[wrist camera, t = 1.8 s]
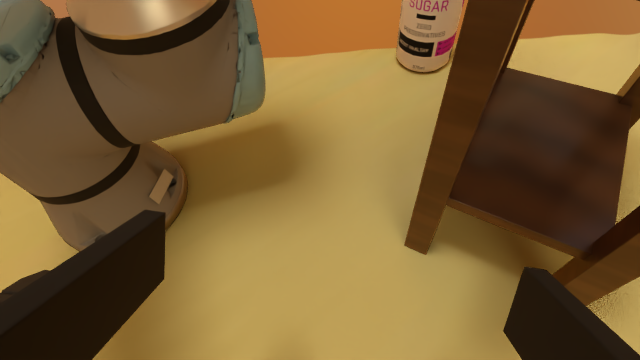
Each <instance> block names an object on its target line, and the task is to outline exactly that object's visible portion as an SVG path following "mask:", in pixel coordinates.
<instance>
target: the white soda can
mask: <svg viewBox="0 0 640 360" xmlns="http://www.w3.org/2000/svg"><path fill="white" fill-rule="evenodd" d="M463 4H464V0H402V6H401V14H400V23H399V33H398V41H397V51H396V56H397V59H398V61H399V62H400V63H401V64H403V65H404V66H405V67H406V68H408V69H410V70H412V71H417V72H430V71H434V70H437V69H438V68H440V67H442V66H444V65H445V64H446V63H447V62H448V60H449V59H450V55H451V51H452V47H453V43H454V39H455V35H456V32H457V28H458V23H459V20H460V15H461V12H462V7H463Z"/></svg>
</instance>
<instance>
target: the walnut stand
mask: <svg viewBox="0 0 640 360" xmlns="http://www.w3.org/2000/svg"><path fill="white" fill-rule="evenodd" d="M534 1H535V0H468V3H467V7H466V11H465V15H464V19H463V23H462V27H461V30H460V34H459V38H458V42H457V46H456V49H455V53H454V57H453V61H452V65H451V68H450V72H449V76H448V80H447V84H446V88H445V91H444V95H443V99H442V103H441V107H440V111H439V114H438V118H437V122H436V126H435V130H434V133H433V137H432V141H431V145H430V149H429V153H428V156H427V160H426V164H425V168H424V172H423V176H422V179H421V183H420V187H419V191H418V195H417V198H416V202H415V206H414V210H413V214H412V218H411V221H410V225H409V229H408V233H407V237H406V241H405V244H404V245H405V246H407V247H409V248H412V249H414V250H416V251H418V252H420V253H422V254H425V255H426V253H427V251H428V248H429V246H430V244H431V242H432V239H433V237H434V235H435V232H436V230H437V227H438V225H439V222H440V220H441V217H442V215H443V212H444V210H445V207H446V205H447V206H450V207H452V208H455V209H457V210H460V211H462V212H465V213H467V214H470V215H472V216H475V217H477V218H479V219H482V220H484V221H487V222H489V223H492V224H494V225H497V226H499V227H502V228H504V229H507V230H509V231H512V232H514V233H517V234H519V235H522V236H524V237H527V238H529V239H532V240H534V241H537V242H539V243H542V244H544V245H547V246H549V247H552V248H554V249H557V250H559V251H562V252H564V253H567V254H569V255H572V256H574V258H573V259H572V260H571V261H569V262H568V263H567V264H566V265H564V266H563V267H562V268H561V269H559V270H558V271H557V272H556V273H554V274H553V275H552V276H553V277H554V278H555V279H556V280H558V281H559V282H560V283H561V284H562V285H563V286H564V287H565V288H566V289H567V290H568V291H570V292H571V293H572V294H573V295H574V296H575V297H576V298H577V299H578V300H579V301H581V302H582V303H583V304H584V305H585V306H586V305H588V304H590V303H592V302H594V301H596V300H597V299H599V298H601V297H603V296H605V295H607V294H608V293H610V292H612V291H614V290H616V289H618V288H619V287H621V286H623V285H625V284H627V283H629V282H630V281H632V280H634V279H636V278H638V277H640V206H639V207H637V208H636V209H635V210H634V211H632V212H631V213H630V214H629V215H627V216H626V217H625V218H624V219H622V220H621V221H620V222H619V223H617V224H616V225H615V222H616V215H617V208H618V202H619V195H620V188H621V181H622V174H623V167H624V160H625V153H626V146H627V139H628V133H629V129H630V128H631V127H632V126H633V125H634V124H635V123H636V122H637V121H638V120H639V118H640V65H639V66H638V67H637V68H636V70H635V71H634V72H633V74H632V75H631V76H630V77H629V79H628V80H627V81H626V83H625V84H624V85H623V86H622V88H621V89H620V90H619V92H618V93H617V94H616V95H615V94H611V93H607V92H603V91H599V90H595V89H591V88H587V87H583V86H579V85H574V84H570V83H566V82H562V81H558V80H554V79H550V78H546V77H542V76H538V75H534V74H530V73H526V72H522V71H518V70H514V69H510V68H507V66H508V63H509V61H510V58H511V56H512V54H513V51H514V49H515V46H516V44H517V42H518V39H519V37H520V34H521V32H522V29H523V27H524V25H525V22H526V20H527V17H528V15H529V13H530V10H531V8H532V5H533V3H534ZM638 1H640V0H638Z"/></svg>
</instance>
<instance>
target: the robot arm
mask: <svg viewBox="0 0 640 360" xmlns="http://www.w3.org/2000/svg"><path fill="white" fill-rule="evenodd" d="M66 6H67V11H68V14H69V15H70V17H66V18H59V19H58V18H55V16H54V12H53V10H52V9H51V8H50V7H48V6H46V5H45V4H44V3H43V2H42V1H40V0H0V173H2V174H3V175H4V176H6V177H7V178H9V179H10V180H12V181H13V182H14V183H16V184H17V185H19V186H20V187H22V188H23V189H24V190H26V191H27V192H29V193H30V194H32V195H33V196H34V197H36V198H37V199H38V200H40V202H41V203H42V205H43V207H44V209H45V211H46V212H47V214H48V216H49V218H50V219H51V221H52V223H53V225H54V227H55V228H56V230H57V232H58V233H59V235H60V236H61V237H62V238H63V240H64V241H65V242H66V243H68V244H69V245H70V246H72V247H73V248H75V249H77V250H78V251H80V252H79V253H77V254H76V255H74V256H73V257H71V258H70V259H68V260H66V261H65V262H63V263H62V264H60V265H59V266H57V267H56V268H54V269H53V270H51V271H48V270H43V271H40V272H38V273H35V274H33V275H30V276H27V277H25V278H22V279H20V280H18V281H17V282H15V283H14V284H12V285H10V286H9V287H7V288H5V289H4V290H2V293H0V360H92V359H93V358H94V357H95V355H96V354H97V353H98V352H99V351H100V350H101V349H102V348H103V347H104V345H105V344H106V343H107V342H108V341H109V340H110V339H111V338H112V337H113V335H114V334H115V333H116V332H117V331H118V330H119V329H120V328H121V326H122V325H123V324H124V323H125V322H126V321H127V320H128V319H129V318H130V316H131V315H132V314H133V313H134V312H135V311H136V310H137V309H138V308H139V306H140V305H141V304H142V303H143V302H144V301H145V300H146V299H147V298H148V296H149V295H150V294H151V293H152V292H153V291H154V290H155V289H156V287H157V286H158V285H159V284H160V283H161V282H162V281H163V280H164V266H165V231H166V230H167V229H168V227H169V226H170V225H171V224H172V223H173V222H174V220H175V219H176V218H177V216H178V215H179V213H180V211H181V209H182V207H183V205H184V203H185V200H186V196H187V189H188V185H187V178H186V175H185V173H184V171H183V169H182V167H181V166H180V164H179V163H178V161H177V160H176V159H175V158H174V157H173V156H172V155H171V154H170V153H169V152H167V151H166V150H164V149H163V148H161V147H160V146H158V145H157V144H155V143H154V142H152V141H154V140H158V139H162V138H166V137H170V136H174V135H178V134H182V133H186V132H190V131H194V130H198V129H202V128H206V127H210V126H214V125H218V124H222V123H229V122H230V121H232V120H233V119H235V118H238V117H241V116H244V115H247V114H250V113H253V112H255V111H256V110H258V109H259V108H260V107H261V105H262V104H263V101H264V98H265V73H264V64H263V56H262V51H261V45H260V42H259V40H258V36H259V35H258V30H257V22H256V17H255V13H254V8H253V4H252V1H251V0H67V2H66ZM503 331H504V333H505V334H506V336H507V337H508V339H509V340H510V342H511V344H512V345H513V347H514V348H515V350H516V351H517V353H518V354H519V356H520V357H521V359H522V360H640V355H639V354H638V353H637V352H635V351H634V350H633V349H632V348H631V347H630V346H629V345H628V344H627V343H626V342H625V341H623V340H622V339H621V338H620V337H619V336H618V335H617V334H616V333H615V332H614V331H612V330H611V329H610V328H609V327H608V326H607V325H606V324H605V323H604V322H603V321H601V320H600V319H599V318H598V317H597V316H596V315H595V314H594V313H593V312H592V311H590V310H589V309H588V308H587V307H586V306H585V305H584V304H583V303H582V302H581V301H579V300H578V299H577V298H576V297H575V296H574V295H573V294H572V293H571V292H570V291H568V290H567V289H566V288H565V287H564V286H563V285H562V284H561V283H560V282H559V281H558V280H556V279H555V278H554V277H553V276H552V275H551V274H550V273H549V272H548V271H547V270H544V269H537V268H530V267H524V270H523V273H522V276H521V279H520V282H519V285H518V288H517V291H516V294H515V297H514V300H513V303H512V306H511V309H510V312H509V315H508V318H507V321H506V324H505V327H504V330H503Z"/></svg>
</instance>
